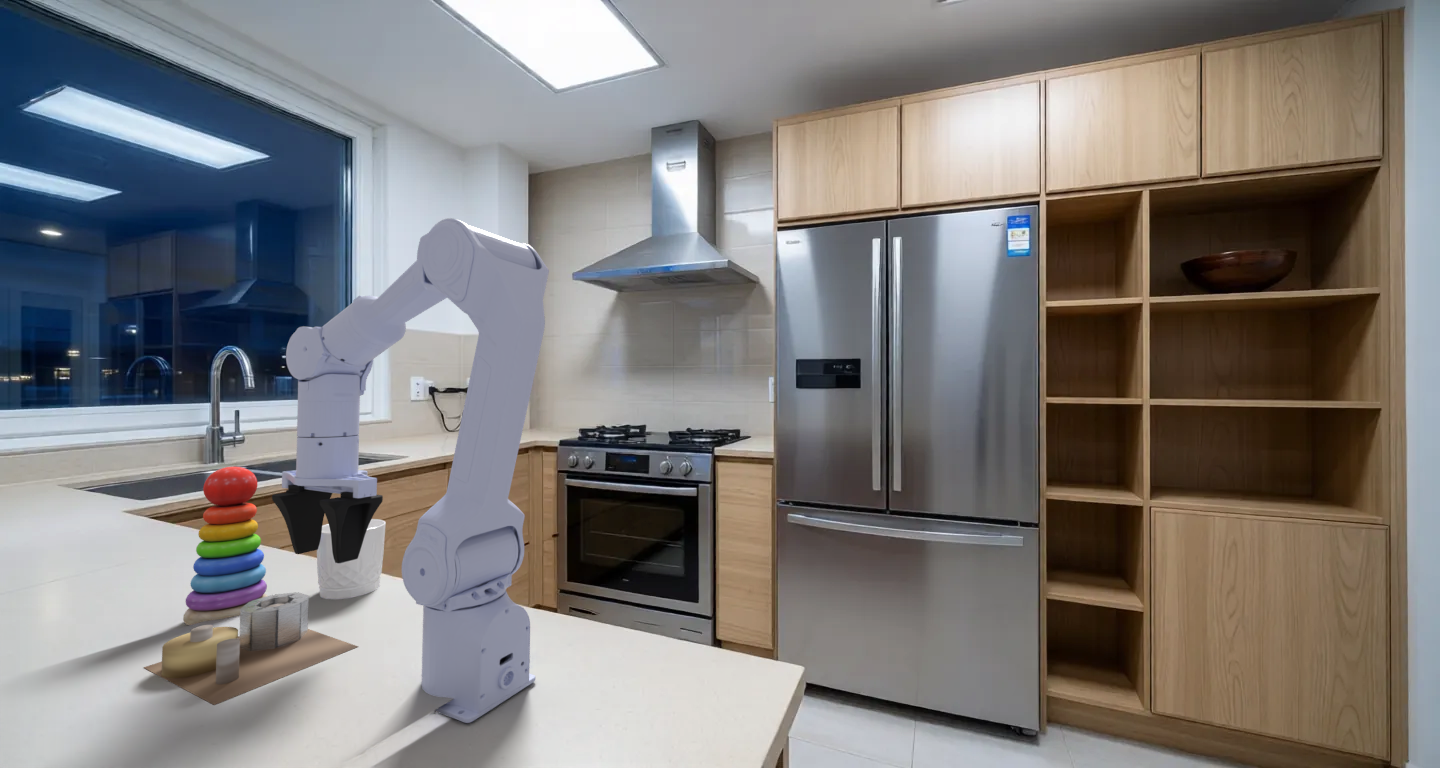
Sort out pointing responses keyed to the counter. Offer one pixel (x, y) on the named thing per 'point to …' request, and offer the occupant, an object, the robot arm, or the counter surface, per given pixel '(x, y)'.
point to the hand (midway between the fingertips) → (326, 556)
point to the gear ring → (273, 621)
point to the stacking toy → (227, 550)
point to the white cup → (351, 565)
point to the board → (263, 666)
